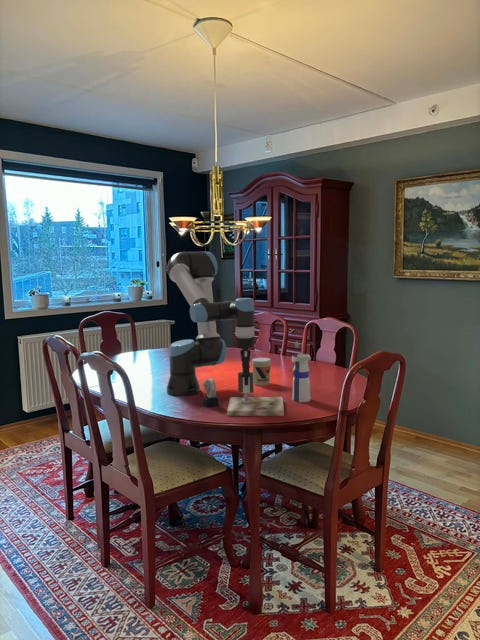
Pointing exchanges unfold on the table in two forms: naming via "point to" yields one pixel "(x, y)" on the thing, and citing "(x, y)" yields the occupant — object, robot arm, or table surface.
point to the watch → (210, 393)
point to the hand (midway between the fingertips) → (245, 388)
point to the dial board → (256, 407)
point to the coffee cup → (261, 371)
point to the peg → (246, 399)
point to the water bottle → (301, 377)
